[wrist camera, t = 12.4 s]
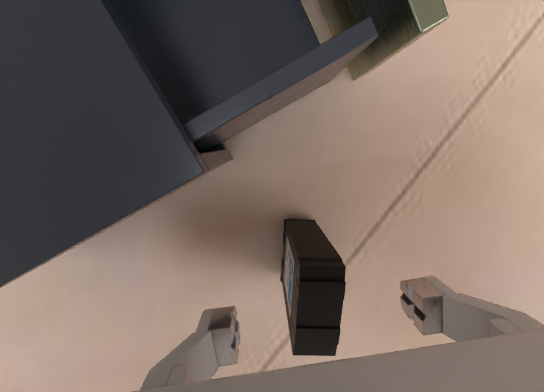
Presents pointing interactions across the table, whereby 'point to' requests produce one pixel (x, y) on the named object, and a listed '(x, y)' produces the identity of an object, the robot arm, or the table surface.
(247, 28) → the drawer
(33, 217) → the cabinet
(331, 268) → the ink cartridge
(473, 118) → the table surface
